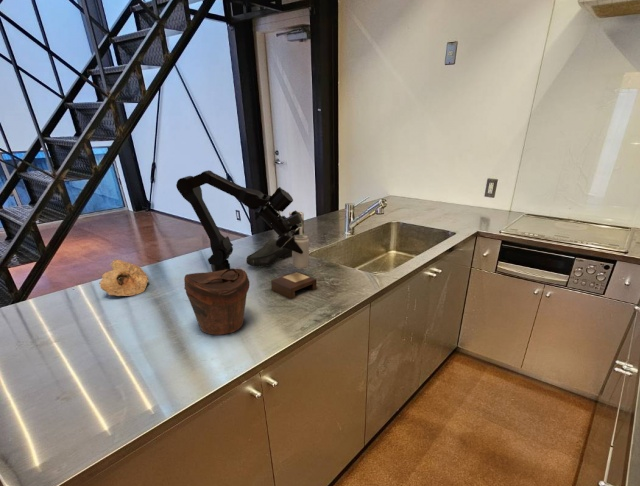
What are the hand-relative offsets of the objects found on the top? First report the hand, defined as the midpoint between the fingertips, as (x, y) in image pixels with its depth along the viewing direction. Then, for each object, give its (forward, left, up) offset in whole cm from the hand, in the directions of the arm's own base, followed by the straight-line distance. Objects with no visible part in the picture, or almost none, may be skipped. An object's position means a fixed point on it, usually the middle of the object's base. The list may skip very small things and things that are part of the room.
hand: (304, 250), depth 145 cm
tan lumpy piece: (-53, +40, -13) cm, 67 cm away
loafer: (+5, +28, -13) cm, 31 cm away
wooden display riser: (-9, -3, -13) cm, 16 cm away
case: (-43, -8, -13) cm, 45 cm away
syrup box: (+35, +44, -13) cm, 58 cm away
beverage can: (-1, +1, -7) cm, 7 cm away
